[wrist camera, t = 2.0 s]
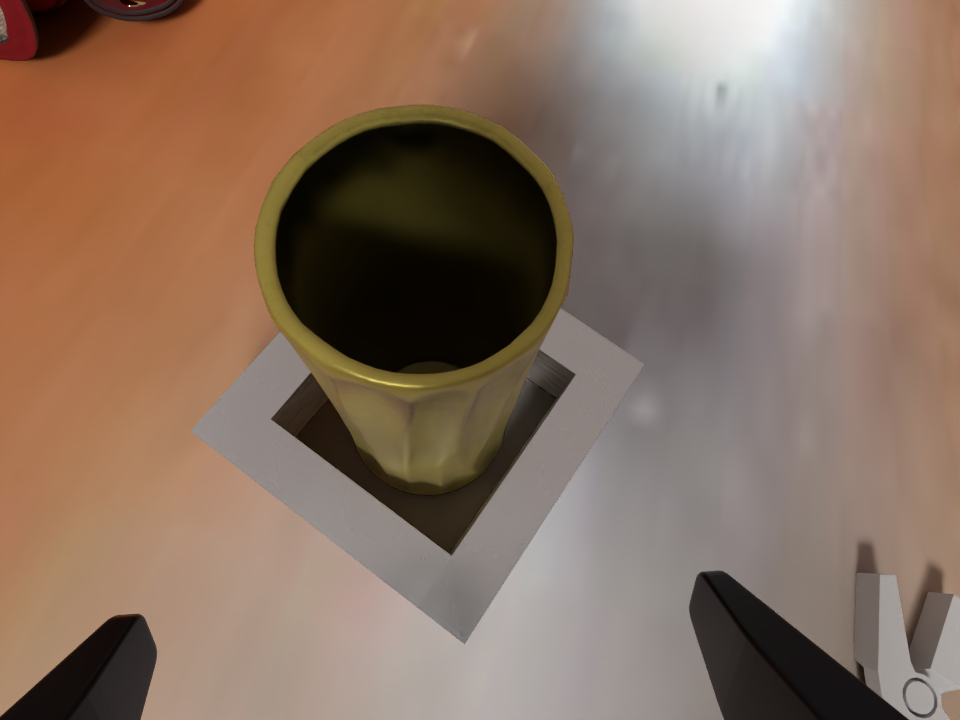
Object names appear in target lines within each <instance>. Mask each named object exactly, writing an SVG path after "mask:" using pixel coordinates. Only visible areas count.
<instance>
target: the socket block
mask: <svg viewBox="0 0 960 720" xmlns="http://www.w3.org/2000/svg"><path fill="white" fill-rule="evenodd" d="M644 365H645V364H643V363H642V362H641V361H639V360H638V359H636V358H635V357H633V356H632V355H630V354H629V353H627V352H626V351H624V350H623V349H621V348H620V347H618V346H617V345H615V344H614V343H612V342H611V341H609V340H608V339H606V338H605V337H603V336H602V335H600V334H599V333H597V332H596V331H594V330H593V329H591V328H590V327H588V326H587V325H585V324H584V323H582V322H581V321H580V320H578V319H577V318H575V317H574V316H572V315H571V314H569V313H568V312H566V311H565V310H563V309H562V308H560V310H559V312H558V314H557V316H556V318H555V320H554V322H553V324H552V326H551V328H550V330H549V332H548V334H547V335H546V337H545V339H544V341H543V343H542V345H541V347H540V349H539V351H538V353H537V355H536V357H535V360H534V362H533V364H532V367H531V369H530V371H529V374H528V376H527V378H528V379H530V380H531V381H532V382H534V383H535V384H537V385H538V386H540V387H541V388H542V389H544V390H545V391H547V392H548V393H550V394H551V395H553V396H554V397H555V398H556V399H555V401H554V402H553V404H552V405H551V406H550V408H549V409H548V411H547V412H546V414H545V415H544V417H543V418H542V420H541V421H540V422H539V424H538V425H537V427H536V428H535V430H534V431H533V433H532V434H531V436H530V437H529V438H528V440H527V441H526V443H525V444H524V446H523V447H522V449H521V450H520V452H519V453H518V454H517V456H516V457H515V459H514V460H513V462H512V463H511V465H510V466H509V468H508V469H507V470H506V472H505V473H504V475H503V476H502V478H501V479H500V481H499V482H498V484H497V485H496V486H495V488H494V489H493V491H492V492H491V494H490V495H489V497H488V498H487V500H486V501H485V502H484V504H483V505H482V507H481V508H480V510H479V511H478V513H477V514H476V516H475V517H474V518H473V520H472V521H471V523H470V524H469V526H468V527H467V529H466V530H465V532H464V533H463V534H462V536H461V537H460V539H459V540H458V542H457V543H456V545H455V546H454V548H453V549H452V550H451V552H450V553H448V552H447V551H445V550H444V549H443V548H441V547H440V546H439V545H438V544H436V543H435V542H434V541H432V540H431V539H430V538H428V537H427V536H426V535H424V534H423V533H422V532H420V531H419V530H418V529H416V528H415V527H414V526H412V525H411V524H410V523H408V522H407V521H406V520H404V519H403V518H402V517H400V516H399V515H398V514H397V513H395V512H394V511H393V510H391V509H390V508H389V507H387V506H386V505H385V504H383V503H382V502H381V501H379V500H378V499H377V498H375V497H374V496H373V495H371V494H370V493H369V492H367V491H366V490H365V489H363V488H362V487H361V486H359V485H358V484H357V483H356V482H354V481H353V480H352V479H350V478H349V477H348V476H346V475H345V474H344V473H342V472H341V471H340V470H338V469H337V468H336V467H334V466H333V465H332V464H330V463H329V462H328V461H326V460H325V459H324V458H322V457H321V456H320V455H319V454H317V453H316V452H315V451H313V450H312V449H311V448H309V447H308V446H307V445H305V444H304V443H303V442H301V441H300V440H299V439H297V438H296V437H297V435H298V434H299V433H300V432H301V431H302V429H303V428H304V427H305V426H306V425H307V423H308V422H309V421H310V420H311V419H312V417H313V416H314V415H315V414H316V413H317V411H318V410H319V409H320V408H321V407H322V405H323V404H324V403H325V402H326V401H327V399H328V397H327V395H326V393H325V392H324V390H323V389H322V388H321V386H320V385H319V383H318V381H317V380H316V378H315V377H314V375H313V374H312V373H311V372H310V370H309V369H308V368H307V366H306V365H305V363H304V362H303V361H302V359H301V358H300V357H299V355H298V354H297V353H296V351H295V350H294V348H293V347H292V346H291V344H290V343H289V342H288V340H287V339H286V338H285V337H284V336H283V335H282V333H281V332H279V333H278V334H277V335H276V337H275V338H274V339H273V340H272V341H271V342H270V343H269V344H268V345H267V347H266V348H265V349H264V350H263V351H262V352H261V353H260V354H259V355H258V356H257V358H256V359H255V360H254V361H253V362H252V363H251V364H250V365H249V366H248V368H247V369H246V370H245V371H244V372H243V373H242V374H241V375H240V376H239V378H238V379H237V380H236V381H235V382H234V383H233V384H232V385H231V386H230V387H229V389H228V390H227V391H226V392H225V393H224V394H223V395H222V396H221V397H220V399H219V400H218V401H217V402H216V403H215V404H214V405H213V406H212V407H211V408H210V410H209V411H208V412H207V413H206V414H205V415H204V416H203V417H202V418H201V420H200V421H199V422H198V423H197V424H196V425H195V426H194V427H193V428H192V429H191V432H192V433H194V434H195V435H196V436H197V437H199V438H200V439H201V440H203V441H204V442H205V443H206V444H208V445H209V446H210V447H212V448H213V449H214V450H215V451H217V452H218V453H219V454H221V455H222V456H223V457H224V458H226V459H227V460H228V461H230V462H231V463H232V464H233V465H235V466H236V467H237V468H239V469H240V470H241V471H242V472H244V473H245V474H246V475H248V476H249V477H250V478H251V479H253V480H254V481H255V482H257V483H258V484H259V485H260V486H262V487H263V488H264V489H266V490H267V491H268V492H269V493H271V494H272V495H273V496H275V497H276V498H277V499H278V500H280V501H281V502H282V503H284V504H285V505H286V506H287V507H289V508H290V509H291V510H293V511H294V512H295V513H296V514H298V515H299V516H300V517H302V518H303V519H304V520H305V521H307V522H308V523H309V524H311V525H312V526H313V527H314V528H316V529H317V530H318V531H320V532H321V533H322V534H324V535H325V536H326V537H327V538H329V539H330V540H331V541H333V542H334V543H335V544H336V545H338V546H339V547H340V548H342V549H343V550H344V551H345V552H347V553H348V554H349V555H351V556H352V557H353V558H354V559H356V560H357V561H358V562H360V563H361V564H362V565H363V566H365V567H366V568H367V569H369V570H370V571H371V572H372V573H374V574H375V575H376V576H378V577H379V578H380V579H381V580H383V581H384V582H385V583H387V584H388V585H389V586H390V587H392V588H393V589H394V590H396V591H397V592H398V593H399V594H401V595H402V596H403V597H405V598H406V599H407V600H408V601H410V602H411V603H412V604H414V605H415V606H416V607H417V608H419V609H420V610H421V611H423V612H424V613H425V614H426V615H428V616H429V617H430V618H432V619H433V620H434V621H435V622H437V623H438V624H439V625H441V626H442V627H443V628H444V629H446V630H447V631H448V632H450V633H451V634H452V635H454V636H455V637H456V638H457V639H459V640H460V641H461V642H463V643H464V644H465V643H466V641H467V640H468V638H469V636H470V635H471V633H472V632H473V630H474V629H475V627H476V626H477V624H478V622H479V621H480V619H481V618H482V616H483V615H484V613H485V612H486V610H487V608H488V607H489V605H490V604H491V602H492V601H493V599H494V598H495V596H496V594H497V593H498V591H499V590H500V588H501V587H502V585H503V584H504V582H505V581H506V579H507V577H508V576H509V574H510V573H511V571H512V570H513V568H514V567H515V565H516V563H517V562H518V560H519V559H520V557H521V556H522V554H523V553H524V551H525V549H526V548H527V546H528V545H529V543H530V542H531V540H532V539H533V537H534V535H535V534H536V532H537V531H538V529H539V528H540V526H541V525H542V523H543V522H544V520H545V518H546V517H547V515H548V514H549V512H550V511H551V509H552V508H553V506H554V504H555V503H556V501H557V500H558V498H559V497H560V495H561V494H562V492H563V490H564V489H565V487H566V486H567V484H568V483H569V481H570V480H571V478H572V476H573V475H574V473H575V472H576V470H577V469H578V467H579V466H580V464H581V463H582V461H583V459H584V458H585V456H586V455H587V453H588V452H589V450H590V449H591V447H592V445H593V444H594V442H595V441H596V439H597V438H598V436H599V435H600V433H601V431H602V430H603V428H604V427H605V425H606V424H607V422H608V421H609V419H610V417H611V416H612V414H613V413H614V411H615V410H616V408H617V407H618V405H619V404H620V402H621V400H622V399H623V397H624V396H625V394H626V393H627V391H628V390H629V388H630V386H631V385H632V383H633V382H634V380H635V379H636V377H637V376H638V374H639V372H640V371H641V369H642V368H643V366H644Z"/></svg>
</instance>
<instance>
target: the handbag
mask: <svg viewBox="0 0 960 720" xmlns="http://www.w3.org/2000/svg"><path fill="white" fill-rule="evenodd" d="M66 1H67V0H0V59H3V60H11V61H22V60H28V59H30V58H32V57H34V56H35V54H36V52H37V49H38V46H39V38H38V31H37V28H36V24H35V21H34V18H33V16H32V13H45V12H51V11H53V10H55V9H58V8H59V7H60V6H62V5H63V4H64V3H65V2H66ZM84 1H85V2H86V3H87V4H88V5H89V6H90V7H91V8H92V9H94V10H95V11H97V12H98V13H100V14H102V15H104V16H108V17H111V18H115V19H118V20H123V21H147V20H151V19H155V18H159V17H162V16H165V15H168V14H170V13H171V12H173V11H174V10H176V9H177V8H178V7H179V6H180V5H181V4H182V3H183V1H184V0H84Z"/></svg>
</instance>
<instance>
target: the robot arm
mask: <svg viewBox="0 0 960 720" xmlns="http://www.w3.org/2000/svg"><path fill="white" fill-rule="evenodd" d="M689 611H690V618H691V621H692V624H693V627H694V630H695V633H696V637H697V640H698V643H699V646H700V649H701V652H702V655H703V658H704V661H705V664H706V668H707V671H708V674H709V677H710V680H711V683H712V686H713V689H714V692H715V695H716V698H717V701H718V704H719V707H720V710H721V713H722V715H723V718H724V720H909V719H908V718H907V717H905V716H904V715H903V714H902V713H900V712H899V711H898V710H897V709H895V708H894V707H893V706H892V705H890V704H889V703H888V702H887V701H885V700H884V699H883V698H882V697H880V696H879V695H878V694H877V693H875V692H874V691H873V690H872V689H870V688H869V687H868V686H867V685H865V684H864V683H863V682H862V681H860V680H859V679H858V678H857V677H855V676H854V675H853V674H852V673H850V672H849V671H848V670H847V669H846V668H844V667H843V666H842V665H841V664H839V663H838V662H837V661H836V660H834V659H833V658H832V657H831V656H829V655H828V654H827V653H826V652H824V651H823V650H822V649H821V648H819V647H818V646H817V645H816V644H814V643H813V642H812V641H811V640H809V639H808V638H807V637H806V636H804V635H803V634H802V633H801V632H799V631H798V630H797V629H796V628H794V627H793V626H792V625H791V624H789V623H788V622H787V621H786V620H784V619H783V618H782V617H781V616H780V615H778V614H777V613H776V612H775V611H773V610H772V609H771V608H770V607H768V606H767V605H766V604H765V603H763V602H762V601H761V600H760V599H758V598H757V597H756V596H755V595H753V594H752V593H751V592H750V591H748V590H747V589H746V588H745V587H743V586H742V585H741V584H740V583H738V582H737V581H736V580H735V579H733V578H732V577H731V576H730V575H728V574H727V573H725V572H723V571H706V572H700V573H699V574H698V575H697V578H696V581H695V585H694V589H693V593H692V596H691V600H690V605H689ZM156 658H157V649H156V645H155V642H154V640H153V637H152V635H151V632H150V630H149V627H148V625H147V622H146V620H145V618H144V617H143V616H142V615H141V614H127V615H117V616H114V617H112V618H110V619H108V620H107V621H106V622H105V623H104V624H103V625H101V626H100V627H99V628H98V629H97V630H96V631H95V632H94V633H93V634H92V635H90V636H89V637H88V638H87V639H86V640H85V641H84V642H83V643H82V644H80V645H79V646H78V647H77V648H76V649H75V650H74V651H73V652H72V653H70V654H69V655H68V656H67V657H66V658H65V659H64V660H63V661H62V662H60V663H59V664H58V665H57V666H56V667H55V668H54V669H53V670H52V671H50V672H49V673H48V674H47V675H46V676H45V677H44V678H43V679H42V680H41V681H39V682H38V683H37V684H36V685H35V686H34V687H33V688H32V689H31V690H29V691H28V692H27V693H26V694H25V695H24V696H23V697H22V698H21V699H19V700H18V701H17V702H16V703H15V704H14V705H13V706H12V707H11V708H9V709H8V710H7V711H6V712H5V713H4V714H3V715H2V716H1V717H0V720H140V719H141V716H142V712H143V708H144V705H145V701H146V697H147V694H148V690H149V686H150V682H151V679H152V675H153V671H154V668H155V664H156Z"/></svg>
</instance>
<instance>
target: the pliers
mask: <svg viewBox="0 0 960 720" xmlns="http://www.w3.org/2000/svg"><path fill="white" fill-rule="evenodd" d="M854 659H855V660H856V661H857V662H858V663H859V664H861V665H862V666H863V667H864V674H865V680H866V685H867V686H868V687H869V688H870V689H872V690H873V691H874V692H875V693H877V694H878V695H879V696H880V697H882V698H883V699H884V700H885V701H887V702H888V703H889V704H890V705H892V706H893V707H894V708H895V709H897V710H898V711H899V712H900V713H902V714H903V715H904V716H905V717H907V718H908V719H909V720H950V718H949V717H948V716H947V714H946V713H945V712H944V711H943V709H942V702H941V695H942V693H944V692H948V691H953V690H958V689H960V598H959V597H957V596H956V595H954V594H946V593H936V592H928V594H927V597H926V600H925V603H924V606H923V609H922V612H921V615H920V618H919V621H918V624H917V627H916V630H915V633H914V636H913V639H912V642H911V645H910V649H908V643H907V638H906V632H905V626H904V620H903V614H902V609H901V603H900V597H899V591H898V586H897V580H896V575H886V574H874V573H856V600H855V631H854Z"/></svg>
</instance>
